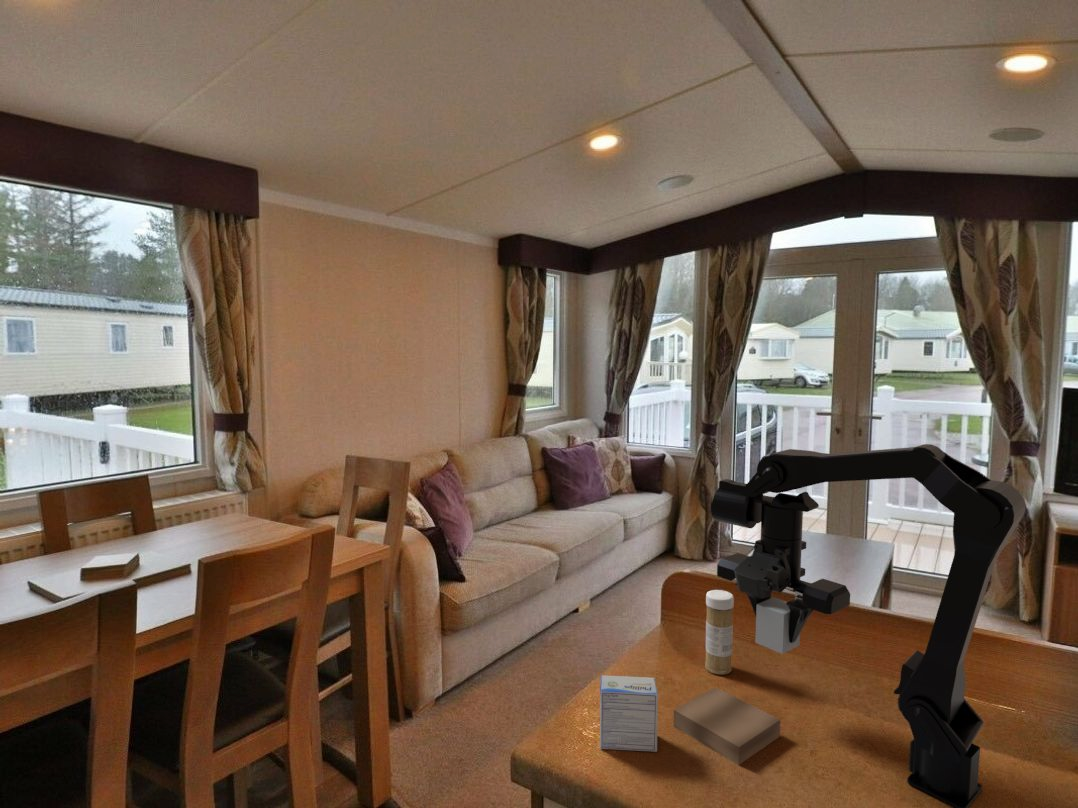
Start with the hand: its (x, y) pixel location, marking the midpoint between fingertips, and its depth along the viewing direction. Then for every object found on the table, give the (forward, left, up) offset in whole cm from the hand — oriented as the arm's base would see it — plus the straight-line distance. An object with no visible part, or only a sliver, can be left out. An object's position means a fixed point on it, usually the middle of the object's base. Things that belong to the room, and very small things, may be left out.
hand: (777, 636), depth 95 cm
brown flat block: (+2, +10, -13) cm, 16 cm away
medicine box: (+9, +23, -12) cm, 27 cm away
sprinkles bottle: (+13, -4, -12) cm, 19 cm away
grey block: (0, 0, -1) cm, 1 cm away
